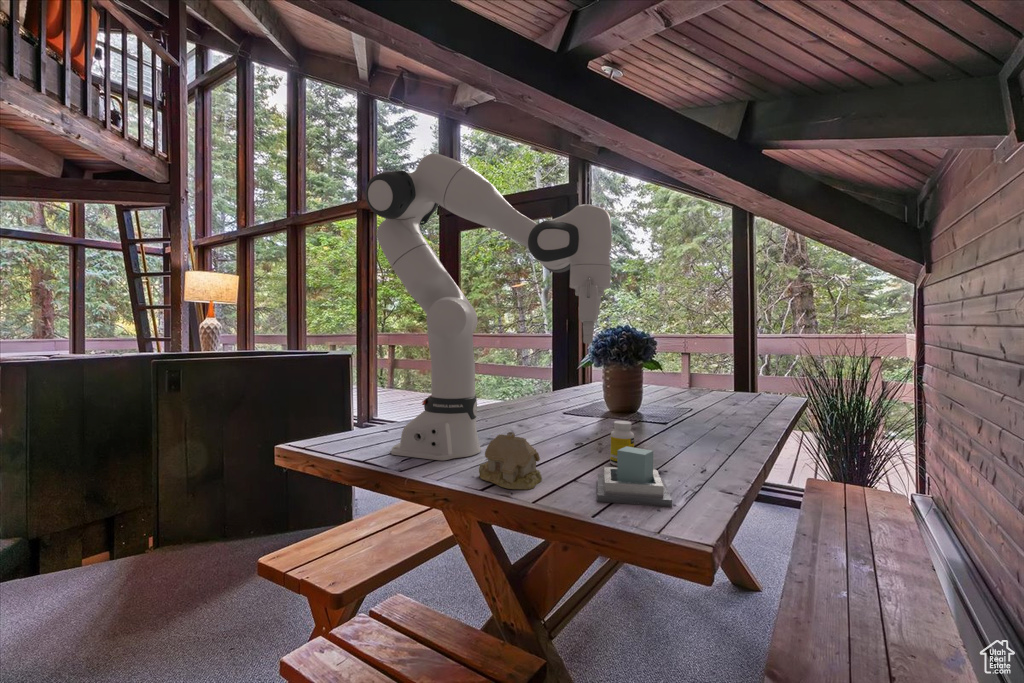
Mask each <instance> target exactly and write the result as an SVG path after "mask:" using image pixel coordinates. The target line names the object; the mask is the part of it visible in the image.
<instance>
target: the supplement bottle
mask: <svg viewBox="0 0 1024 683" xmlns="http://www.w3.org/2000/svg"><path fill="white" fill-rule="evenodd" d="M613 428H614V430H613V431H612V430H611V432H610V451H609V454H610V455H609V463H610V464H612V465H613V466H614V467H615V466H616V467H617V451H618V450H619V449H621V448H624V447H626V446H627V447H634V448H635V434H634V432H633V431H631V429H632V422H631V421H626V420H616V421H615V420H614V422H613Z"/></svg>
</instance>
